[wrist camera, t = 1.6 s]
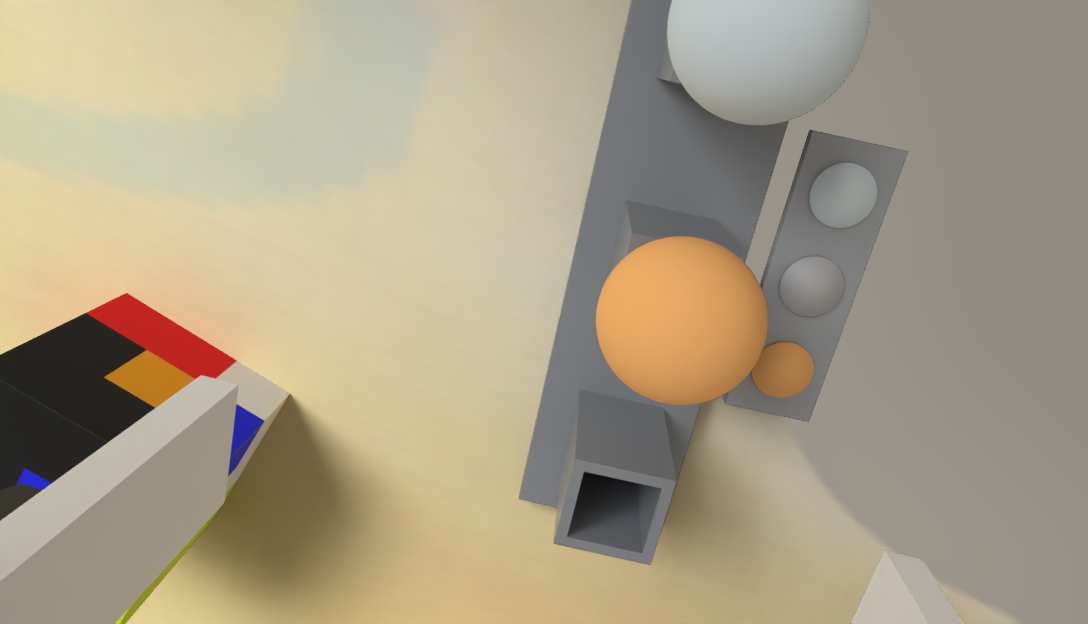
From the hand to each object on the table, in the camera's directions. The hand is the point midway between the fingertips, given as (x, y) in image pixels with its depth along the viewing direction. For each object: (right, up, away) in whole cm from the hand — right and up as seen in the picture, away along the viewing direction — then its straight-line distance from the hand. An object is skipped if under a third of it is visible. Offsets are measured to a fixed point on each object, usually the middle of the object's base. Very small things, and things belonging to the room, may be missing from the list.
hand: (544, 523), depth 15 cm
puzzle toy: (-21, -1, +27) cm, 34 cm away
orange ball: (+5, +4, +12) cm, 13 cm away
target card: (+13, +6, +21) cm, 26 cm away
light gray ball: (+7, +13, +8) cm, 17 cm away
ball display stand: (+6, +7, +21) cm, 23 cm away
